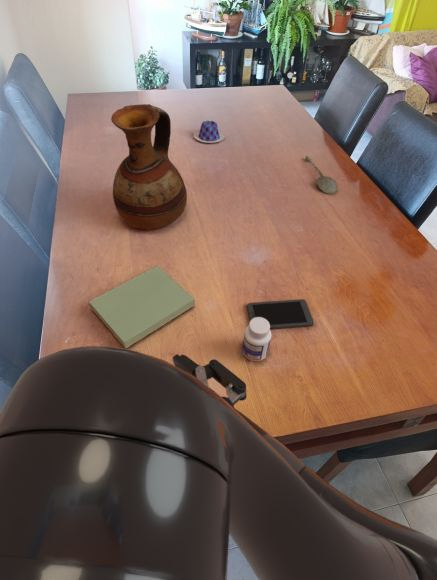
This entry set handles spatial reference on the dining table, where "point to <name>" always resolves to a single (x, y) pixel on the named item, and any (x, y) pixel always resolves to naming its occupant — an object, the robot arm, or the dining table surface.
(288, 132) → the dining table surface
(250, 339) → the pill bottle
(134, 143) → the ceramic pitcher
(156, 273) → the green flat block
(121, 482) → the robot arm
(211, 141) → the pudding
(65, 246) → the dining table surface
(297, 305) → the cell phone
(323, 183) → the soupspoon
